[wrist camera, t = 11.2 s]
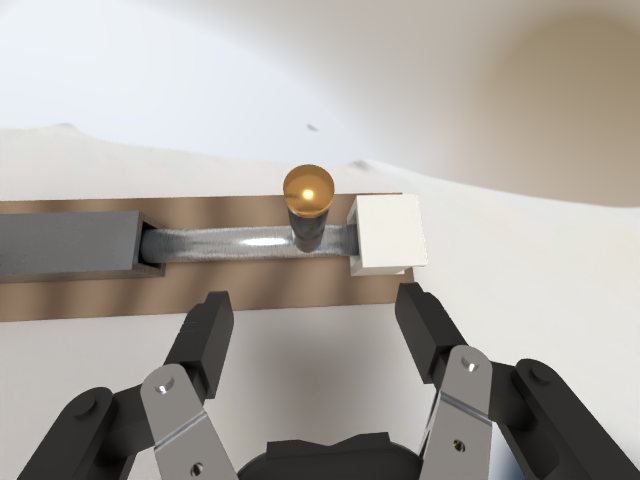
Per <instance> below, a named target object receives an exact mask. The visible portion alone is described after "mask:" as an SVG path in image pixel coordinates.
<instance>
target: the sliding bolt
mask: <svg viewBox="0 0 640 480" xmlns="http://www.w3.org/2000/svg"><path fill="white" fill-rule="evenodd" d="M283 191H284V197H285V202H286V204H287V208H288V214H289V219H290V225H291V226H259V227H224V228H189V229H154V230H142V231H141V239H140V246H139V254H138V262H137V263H166V262H194V261H222V260H249V259H277V258H305V257H333V256H360V253H359V242H358V230H357V224H330V225H326V220H327V216H328V212H329V208H330V205H331V203H332V199H333V195H334V182H333V179H332V177H331V176H330V174H329V173H328V172H327V171H326V170H324V169H323V168H321V167H319V166H316V165H301V166H298V167H296V168H294V169H293V170H292V171H290V172H289V173H288V175H287V176H286V178H285V180H284V184H283Z"/></svg>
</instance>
